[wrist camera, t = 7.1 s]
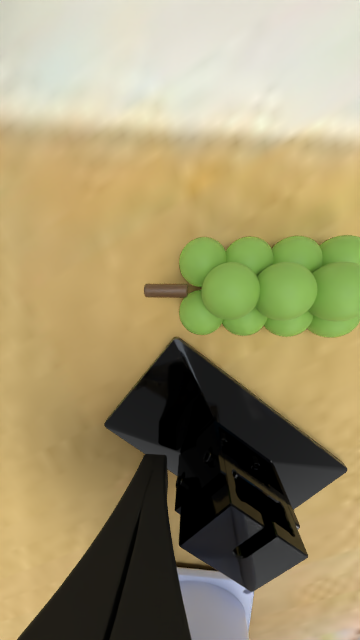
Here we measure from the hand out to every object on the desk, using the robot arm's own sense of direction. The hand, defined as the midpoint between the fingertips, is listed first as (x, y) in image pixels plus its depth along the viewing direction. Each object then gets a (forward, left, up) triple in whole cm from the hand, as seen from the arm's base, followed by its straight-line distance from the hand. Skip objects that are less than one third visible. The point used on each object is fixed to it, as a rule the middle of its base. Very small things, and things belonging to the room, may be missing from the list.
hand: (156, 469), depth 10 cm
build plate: (0, -4, -2) cm, 4 cm away
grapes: (+9, -5, -2) cm, 10 cm away
